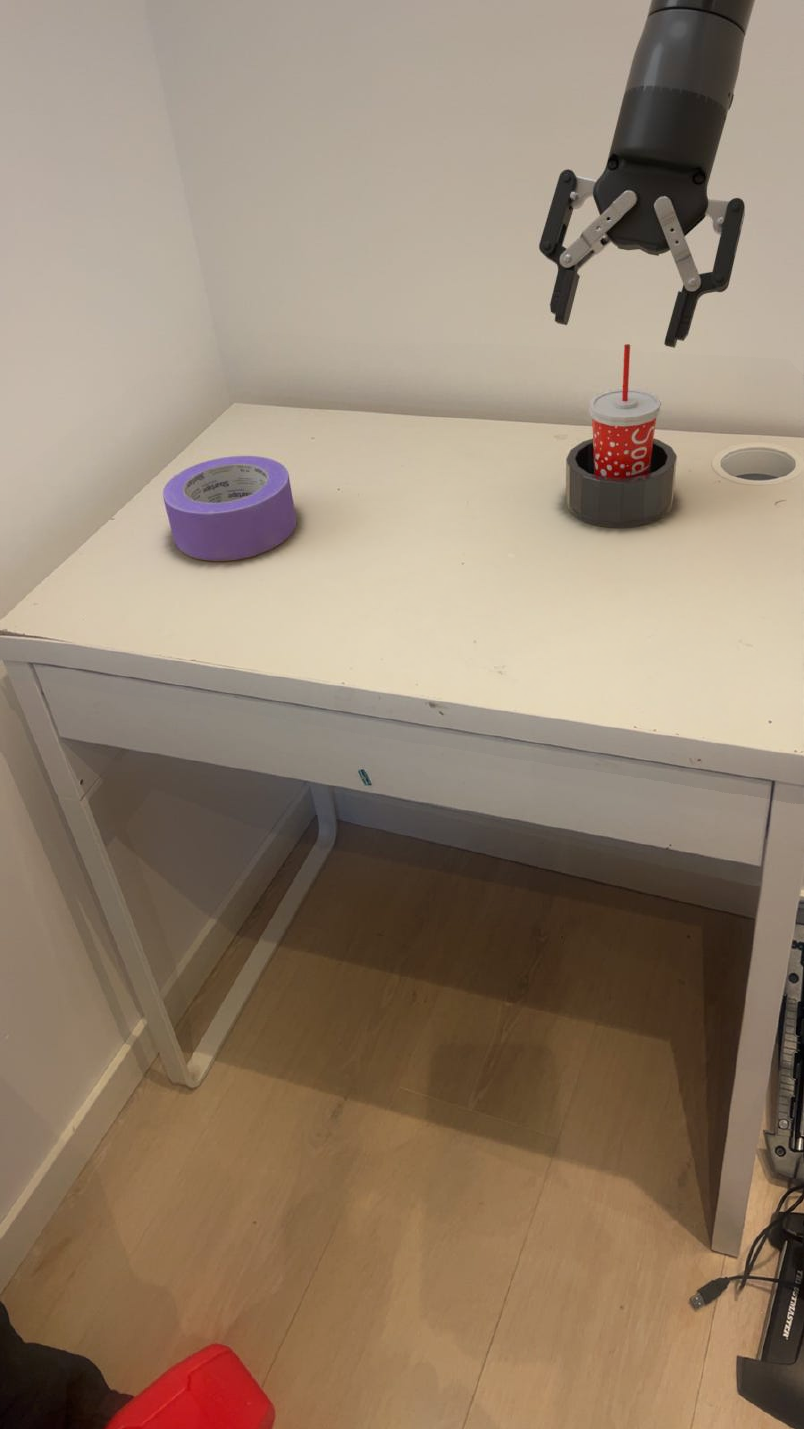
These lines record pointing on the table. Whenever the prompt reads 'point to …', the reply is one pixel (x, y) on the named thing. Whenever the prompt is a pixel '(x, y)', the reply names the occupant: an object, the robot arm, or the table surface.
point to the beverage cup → (623, 429)
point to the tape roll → (230, 507)
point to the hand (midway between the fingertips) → (614, 334)
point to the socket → (620, 489)
